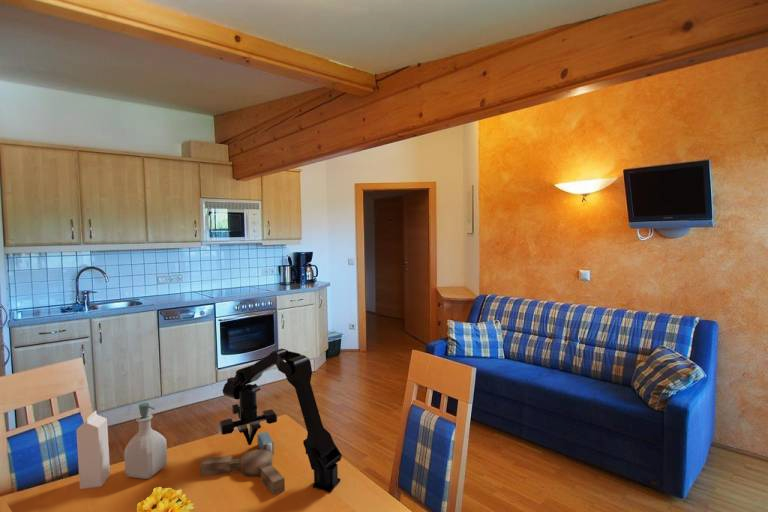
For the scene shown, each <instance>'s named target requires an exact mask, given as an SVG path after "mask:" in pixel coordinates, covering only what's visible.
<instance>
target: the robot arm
mask: <svg viewBox="0 0 768 512" xmlns="http://www.w3.org/2000/svg"><path fill="white" fill-rule="evenodd" d="M274 366H276V368H277V370H278V371H279V372H280V373H282V374H284V376H285V378H286V380H287V382H288V383H289V384H291V386H292V387H294V389H295V392H296V396H297V400H298V404H299V408H300V410H301V413H302V417H303V420H304V425H305V427H306V431H307V436H306V438H305V439H303V441H302V442H303V446H304V450H305V455H307V457H308V461H309V465H310V468H311V470H313V482H314V483H313V484H312V488H313V489H317V490H320V491H325V492H328V493H332V491H333V490H334V489H335V488H336V487H337V485H339V483H340V482H341V478H339V476H338V475H339V472H338V471H339V470H338V469H339V468H338V467H339V466H338V465H339V464H338V463H339V462H341V460H342V458H343V457H342V456H343V455H342V453H341V451H340V450H339V448H338V447H337V445H336V444H335V442H334V440H333V436H332V434H331V433H330V431H328V430H327V429H326V428H325V427H324V425H323V421H322V419H321V415H320V412H319V409H318V404H317V401H316V398H315V395H314V391H313V388H312V384H311V379H312V376H313V369H312V362H311V360H310V357H307V356H306V355H303V354H301V353H299V352H295V351H289V350H288V349H286V348H279V349H275V350H274V351H272V352H270V354H268V355H266V356H265V357H263V358H261V359H260V360H258V361H256V362H255V363H252V364H251V365H247V366H245V367H242V368H239V369H237V370H235V375H234V377H232V376H231V377H229V378H227V379H226V381H227V382H225V384H224V386H223V388H222V394H223V395H224V396H225V397H228V398H231V399H234V400H239V404H238V403H236V404H233V405H231V409H232V415H237V417H238V419H239V420H235V421H233V418H227V419H223V420H221V421H220V422H219V430H220V433H221V435H223V436H225V435H229V434H232V433H233V432H234V431H235V428H237V430H238V433H240V434H242V433H243V435H244V437H245V440H246V443H247V445H248V446H251V445H252V443H253V441H254V439H255V436H256V433H257V432H258V431H259V430H260V429H261V427H262V426H261V422H263V421H265V422H266V423H267V424H269V425H270V424H274V423H277V422H278V415H277V414H276V412H275V410H274V409H267V410H263V411H262V412H261V413H262V414H261V415H258V405H257V403H258V402H257V392H259V391H261V387H260V386H259V385H258V384H257V383H254V384H251V383H253V382H255V381H256V382H257V381H258V380H260V378H261V377H262V375H263V373H264V372H266V371H268V370H270V369H271V368H273V367H274ZM248 425H249V427H248ZM248 428H249V429H248Z"/></svg>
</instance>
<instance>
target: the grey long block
mask: <svg viewBox="0 0 768 512" xmlns="http://www.w3.org/2000/svg"><path fill="white" fill-rule="evenodd" d="M256 436H257V446H258V448H259V450H260V449H262V450H268V451H270V452H271V453H272V455H273V454H275V453H274V452H275V451H274V449H275V448H274V441H273V438H272V437H271V435H270V434H269V432H268V431H263V432H260V433H257V435H256Z"/></svg>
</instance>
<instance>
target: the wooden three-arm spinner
mask: <svg viewBox="0 0 768 512" xmlns="http://www.w3.org/2000/svg"><path fill="white" fill-rule="evenodd" d="M199 467H200V477H209V476H218V475H219V476H220V475H228V474H231V473H238V472H240V473H241V474H242V476H245V477H248V478H256V477H259V478H260V479H261V483H262V484H263V485H264V486H265V488H267V489H268V491H269V492H270V493H271V494H272V495H273V496H276V495H278V494H281V493H282V492H285V488H286V486H285V484H286V483H285V481H286V479H285V477H284V476H283V474H281V473H280V472H279V471H278V469H276V467H274V466H273V454H272V453H271V452H270V451H268V450H262V449H260V448H259V449H255V450H250V451H248V452H246V453H245V454H243V455H241V457H240V458H233V455H227V456H225V455H224V456H223V455H222V456H216V457H215V456H214V457H204V458H202V460H201V463H200V465H199Z"/></svg>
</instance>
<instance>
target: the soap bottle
mask: <svg viewBox="0 0 768 512" xmlns="http://www.w3.org/2000/svg"><path fill="white" fill-rule="evenodd" d="M149 404H150V403H149V402H142V403H140V404H138V408H139V413H140V414H139V415H138V417H136V418H135V421H136V422H138V432H137V433H136V434H135V435H134V436H133V437H132V438H130V440H129V441H128V444H127V445H126V446H125V449H124V451H123V452H124V453H123V454H124V472H125V475H126V476H127V477H129V478H135V479H143V480H148V479H151V478H152V477H153V476H154V475H155V474H157V473H158V472H160V471H161V470H162V469H164V468H165V466H166V465H167V463H168V451H167V450H168V447H167V445H168V443H167V439H166V437H165V436H164V435H162V433H161V432H159V431H157V430H155V429H152V424H151V421H152V419H153V417H154V416H153V414H151V413H149V409H151V410H153V411H154V410H155V409H156V408H154V407H153V406H150V405H149Z"/></svg>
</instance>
